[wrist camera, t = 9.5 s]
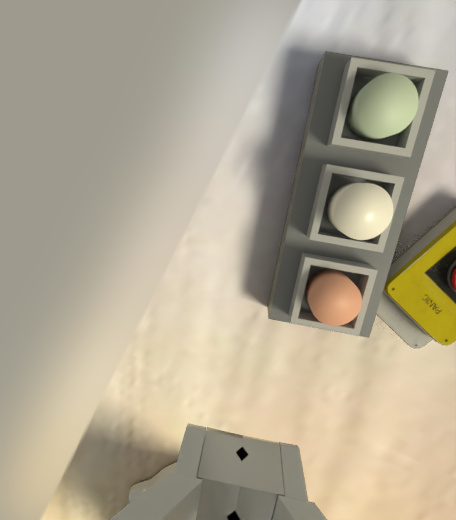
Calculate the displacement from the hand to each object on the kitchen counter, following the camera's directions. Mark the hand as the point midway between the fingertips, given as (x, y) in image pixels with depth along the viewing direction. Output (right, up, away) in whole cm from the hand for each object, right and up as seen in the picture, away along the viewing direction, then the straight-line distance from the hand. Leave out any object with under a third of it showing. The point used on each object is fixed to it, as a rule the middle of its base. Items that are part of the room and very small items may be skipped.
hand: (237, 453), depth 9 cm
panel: (+11, +11, +24) cm, 29 cm away
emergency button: (+22, +4, +26) cm, 34 cm away
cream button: (+11, +10, +20) cm, 25 cm away
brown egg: (+9, +2, +23) cm, 25 cm away
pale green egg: (+12, +17, +19) cm, 29 cm away
